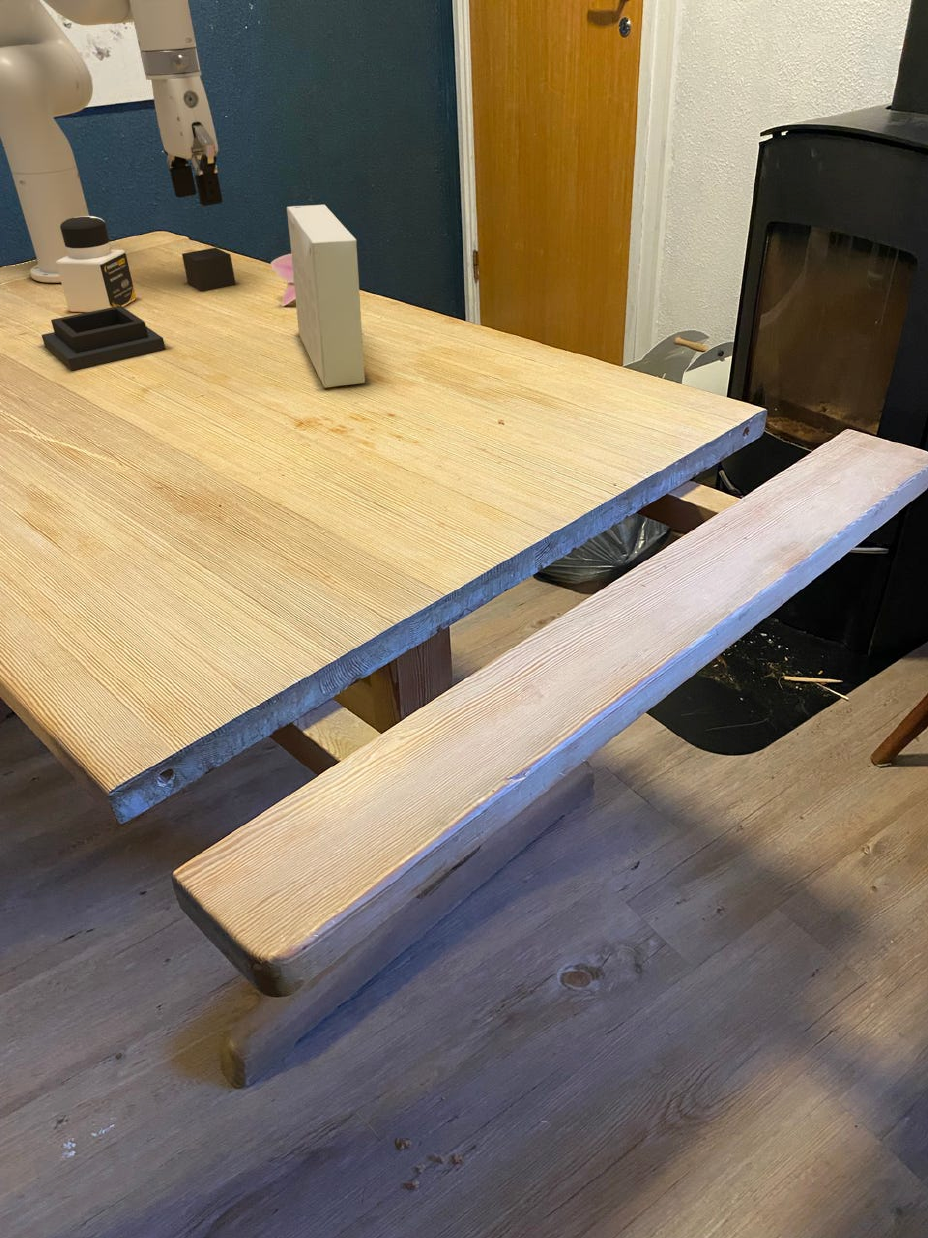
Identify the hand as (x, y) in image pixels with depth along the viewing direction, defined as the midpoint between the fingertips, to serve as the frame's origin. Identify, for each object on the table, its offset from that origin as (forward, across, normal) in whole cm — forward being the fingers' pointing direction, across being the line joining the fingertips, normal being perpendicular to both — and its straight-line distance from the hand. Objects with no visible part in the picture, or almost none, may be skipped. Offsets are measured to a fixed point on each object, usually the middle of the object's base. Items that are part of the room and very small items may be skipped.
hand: (198, 199), depth 134 cm
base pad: (+12, -18, +23) cm, 32 cm away
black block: (+12, +1, 0) cm, 12 cm away
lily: (+13, -19, -7) cm, 24 cm away
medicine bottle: (+12, +1, +17) cm, 21 cm away
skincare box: (+13, -41, +2) cm, 43 cm away
